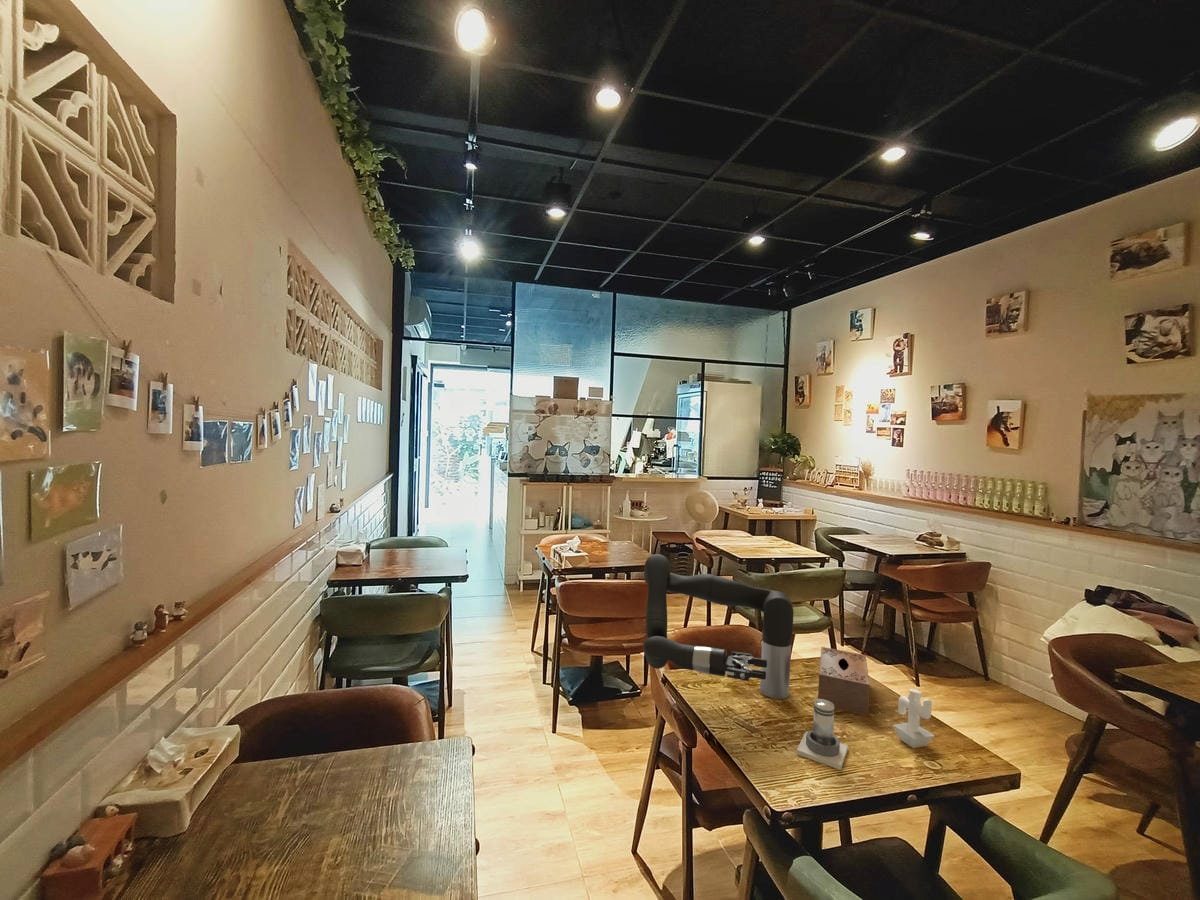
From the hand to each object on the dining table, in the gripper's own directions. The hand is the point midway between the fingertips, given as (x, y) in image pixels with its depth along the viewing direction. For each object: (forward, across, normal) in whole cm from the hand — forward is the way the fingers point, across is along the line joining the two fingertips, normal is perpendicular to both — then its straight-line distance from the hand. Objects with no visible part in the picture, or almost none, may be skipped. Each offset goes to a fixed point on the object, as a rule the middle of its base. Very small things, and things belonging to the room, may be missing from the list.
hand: (766, 669), depth 148 cm
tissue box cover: (+23, -36, -19) cm, 47 cm away
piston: (+15, +4, -17) cm, 23 cm away
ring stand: (+15, +4, -18) cm, 24 cm away
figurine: (+39, -12, -19) cm, 45 cm away
